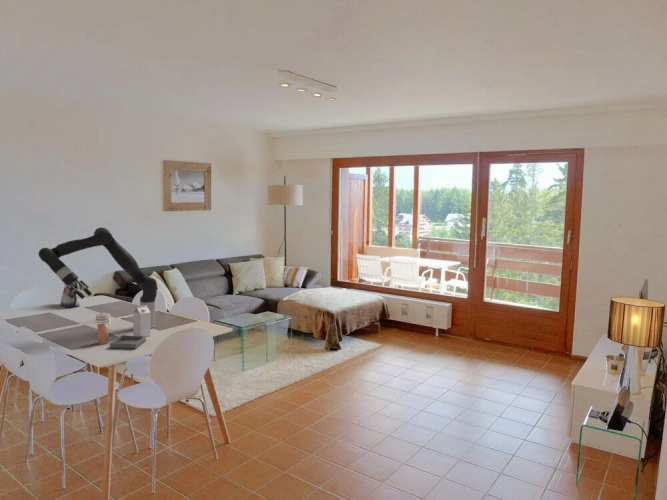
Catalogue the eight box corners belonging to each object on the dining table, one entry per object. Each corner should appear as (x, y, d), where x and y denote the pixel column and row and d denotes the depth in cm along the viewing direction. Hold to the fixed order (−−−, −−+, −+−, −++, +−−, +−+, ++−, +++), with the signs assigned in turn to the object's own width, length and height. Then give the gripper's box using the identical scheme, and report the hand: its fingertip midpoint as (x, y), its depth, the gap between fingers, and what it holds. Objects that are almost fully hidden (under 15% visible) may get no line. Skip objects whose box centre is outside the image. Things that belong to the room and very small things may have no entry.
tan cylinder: (100, 341, 284) (100, 323, 283) (110, 342, 284) (110, 323, 283) (95, 344, 279) (95, 325, 278) (105, 344, 279) (105, 325, 278)
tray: (121, 340, 289) (122, 335, 289) (145, 341, 289) (145, 336, 289) (110, 348, 273) (110, 343, 273) (135, 349, 273) (135, 344, 273)
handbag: (82, 307, 365) (82, 274, 363) (68, 309, 358) (68, 275, 355) (71, 302, 379) (71, 270, 377) (57, 304, 372) (57, 272, 369)
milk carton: (133, 336, 298) (133, 305, 296) (143, 333, 304) (143, 303, 302) (140, 338, 294) (140, 307, 292) (150, 336, 300) (150, 305, 298)
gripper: (65, 273, 274) (86, 294, 275) (77, 269, 288) (97, 289, 289) (55, 282, 274) (76, 303, 276) (68, 278, 288) (88, 298, 290)
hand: (87, 296), depth 282 cm, fingers open, 8 cm apart
